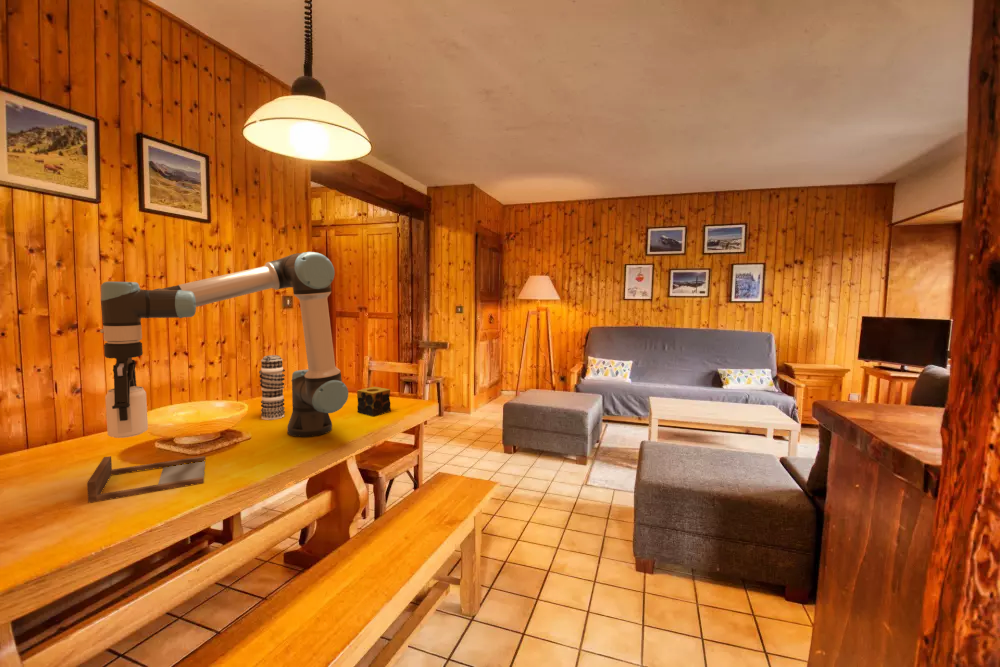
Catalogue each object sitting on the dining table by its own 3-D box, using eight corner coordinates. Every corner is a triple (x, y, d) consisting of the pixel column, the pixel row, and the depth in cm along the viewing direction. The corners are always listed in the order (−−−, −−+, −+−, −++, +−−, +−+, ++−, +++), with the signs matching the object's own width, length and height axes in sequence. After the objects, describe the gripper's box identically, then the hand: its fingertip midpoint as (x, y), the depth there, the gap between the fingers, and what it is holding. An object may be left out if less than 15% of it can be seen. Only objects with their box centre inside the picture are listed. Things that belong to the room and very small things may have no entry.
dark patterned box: (391, 411, 191) (391, 389, 190) (373, 417, 183) (373, 393, 182) (374, 407, 197) (375, 386, 196) (356, 412, 188) (356, 390, 187)
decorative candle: (268, 413, 183) (267, 354, 181) (290, 414, 183) (289, 354, 180) (255, 419, 174) (253, 357, 172) (278, 420, 174) (276, 358, 171)
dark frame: (205, 459, 133) (204, 443, 133) (203, 482, 118) (202, 464, 117) (105, 474, 121) (104, 457, 120) (88, 502, 105) (87, 482, 105)
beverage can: (116, 430, 118) (113, 386, 117) (152, 428, 121) (150, 385, 120) (101, 440, 110) (98, 393, 109) (140, 437, 113) (138, 391, 112)
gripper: (112, 337, 120) (117, 419, 122) (94, 347, 102) (100, 441, 105) (147, 336, 124) (151, 415, 126) (135, 345, 106) (140, 436, 109)
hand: (128, 427), depth 115 cm, fingers closed on beverage can, 8 cm apart
